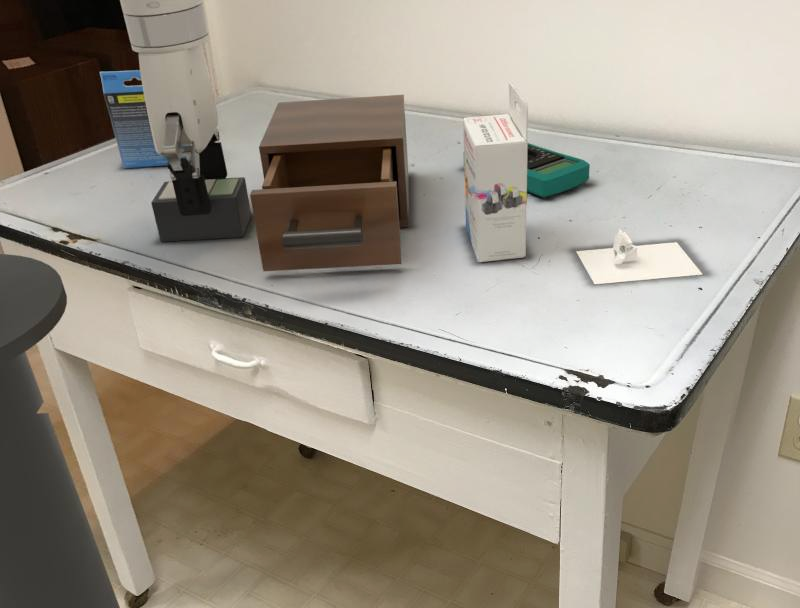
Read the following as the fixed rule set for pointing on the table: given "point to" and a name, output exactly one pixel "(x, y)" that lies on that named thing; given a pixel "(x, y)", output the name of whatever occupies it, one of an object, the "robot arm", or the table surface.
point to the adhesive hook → (636, 261)
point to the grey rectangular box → (221, 222)
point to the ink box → (497, 181)
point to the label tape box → (131, 120)
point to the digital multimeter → (553, 171)
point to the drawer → (328, 210)
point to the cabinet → (342, 133)
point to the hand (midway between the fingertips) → (205, 195)
